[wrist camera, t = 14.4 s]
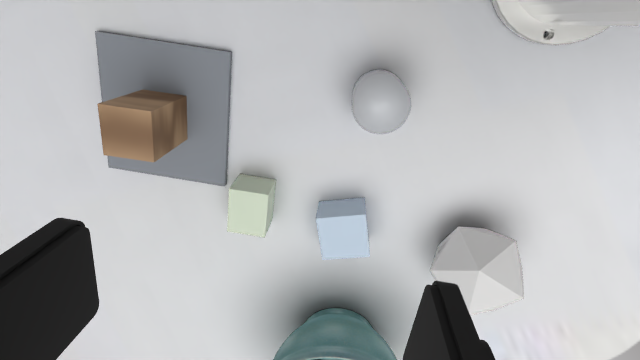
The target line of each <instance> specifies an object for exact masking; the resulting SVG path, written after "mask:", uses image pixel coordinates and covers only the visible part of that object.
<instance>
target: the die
mask: <svg viewBox="0 0 640 360" xmlns="http://www.w3.org/2000/svg"><path fill="white" fill-rule="evenodd" d="M430 272H431V273H432V275H433V277H434V279H435V280H436V281H442V282H448V283H454V284H457V285H458V287H459V289H460V291H461V294H462V296H463V299H464V301H465V304H466V306H467V309H468V311H469V314H470V315H475V314H479V313H484V312H489V311H494V310H497V309H500V308H502V307H504V306H507V305H509V304H512V303H514V302H517V301H519V300H522V299H524V291H523V271H522V264H521V260H520V256H519V252H518V247H517V243H516V241H515V240H513V239H510V238H508V237H506V236H503V235H501V234H498V233H496V232H493V231H491V230H488V229H486V228H474V227H459V226H458V227H457V228H456V229H455V230H454V231H453V232H452V233H451V234H450V235H449V236H448V237H446V238H445V239H444V240H443V241H442V242H441V243H440V244H439V245H438V248H437V251H436V254H435V257H434V260H433V263H432V266H431V269H430Z"/></svg>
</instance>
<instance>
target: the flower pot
mask: <svg viewBox="0 0 640 360" xmlns="http://www.w3.org/2000/svg"><path fill="white" fill-rule="evenodd" d="M273 360H397V359H396V357H395V355H394V354H393V352H392V350H391V349H390V347H389V346H388V344H387V343H386V342H385V341H384V339H383V338H382V337H381V336H380V335H379V334H378V333H377V332H376V331H375V330H374V329H373V328H372V327H371V325H370V323H369V322H368V321H367V320H366V319H365V318H364V317H362V316H361V315H359V314H358V313H355V312H353V311H351V310H348V309H343V308H329V309H324V310H321V311H318V312H316V313H315V314H313V315H312V316H310V317H309V318H308V319H307V320H306V322H305V323H304V324H303V325H301V326H300V327H299V328H297V329H296V330H295V331H294V332H293V333H292V334H291V335H290V336H289V337H288V338H287V339H286V340H285V342H284V343H283V344H282V346H281V347H280V349H279V350H278V352H277V354H276V355H275V357H274V359H273Z"/></svg>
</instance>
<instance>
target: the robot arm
mask: <svg viewBox="0 0 640 360" xmlns="http://www.w3.org/2000/svg"><path fill="white" fill-rule="evenodd" d="M492 3H493V6H494V8H495V10H496V12H497V14H498V16H499V18H500V19H501V20H502V22H503V23H504V24H505V25H506V27H507V28H508V29H510V30H511V31H512V32H514V33H515V34H516V35H518V36H519V37H521V38H524V39H526V40H528V41H530V42H535V43H540V44H547V45H563V44H571V43H575V42H579V41H582V40H586V39H588V38H590V37H592V36H594V35H597V34H599V33H601V32H602V31H604V30H606V29H607V28H609V27H610V26H640V0H492ZM545 31H546V33H547V34H546V36H545V37H543V34H544V32H545ZM98 307H99V298H98V291H97V283H96V276H95V268H94V260H93V253H92V245H91V238H90V232H89V229H88V228H86V227H85V225H84V223H83V222H81V221H77V220H71V219H65V218H57V219H54V220H53V221H51V222H50V223H48V224H47V225H45V226H44V227H42V228H41V229H39V230H38V231H36V232H34V233H33V234H31V235H30V236H28V237H27V238H25V239H24V240H22V241H21V242H19V243H18V244H16V245H15V246H13V247H12V248H10V249H9V250H7V251H6V252H4V253H3V254H1V255H0V360H56V359H57V358H58V357H59V356H60V354H61V353H62V352H63V351H64V350H65V349H66V348H67V346H68V345H69V344H70V343H71V342H72V341H73V340H74V339H75V337H76V336H77V335H78V334H79V333H80V332H81V331H82V329H83V328H84V327H85V326H86V325H87V324H88V323H89V322H90V320H91V319H92V318H93V317H94V316H95V314H96V312H97V310H98ZM403 360H495V358H494V356H493V353H492V351H491V348H490V347H489V345H488V343H487V342H485V341H484V340H480V339H479V337H478V334H477V332H476V329H475V326H474V324H473V321H472V319H471V316H470V314H469V311H468V309H467V306H466V304H465V301H464V299H463V296H462V294H461V291H460V289H459V287H458V285H457V284H454V283H448V282H442V281H434V282H433V284H432V285H426V287H425V289H424V293H423V296H422V299H421V302H420V305H419V308H418V311H417V314H416V318H415V321H414V324H413V327H412V330H411V333H410V336H409V339H408V343H407V346H406V349H405V352H404V355H403Z"/></svg>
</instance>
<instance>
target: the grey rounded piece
mask: <svg viewBox="0 0 640 360" xmlns="http://www.w3.org/2000/svg"><path fill="white" fill-rule="evenodd" d="M410 109H411V98H410V94H409V92H408V90H407V88H406V87H405V86H404V84H403V83H402V82H401V81H400V79H399V78H398V77H397V76H396V75H395V74H393V73H392V72H390V71H387V70H381V69H379V70H372V71H369V72H367V73H365V74H364V75H363V76H361V77H360V78H359V80H358V81H357V82H356V84H355V86H354V89H353V93H352V112H353V115H354V118H355V120H356V122H357V123H358V124H359V125H360V126H361V127H362V128H363V129H364V130H366V131H368V132H371V133H374V134H386V133H390V132H392V131H394V130H396V129H398V128H399V127H400V126H401V125H402V124H403V123H404V122H405V121H406V119H407V118H408V115H409V113H410Z"/></svg>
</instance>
